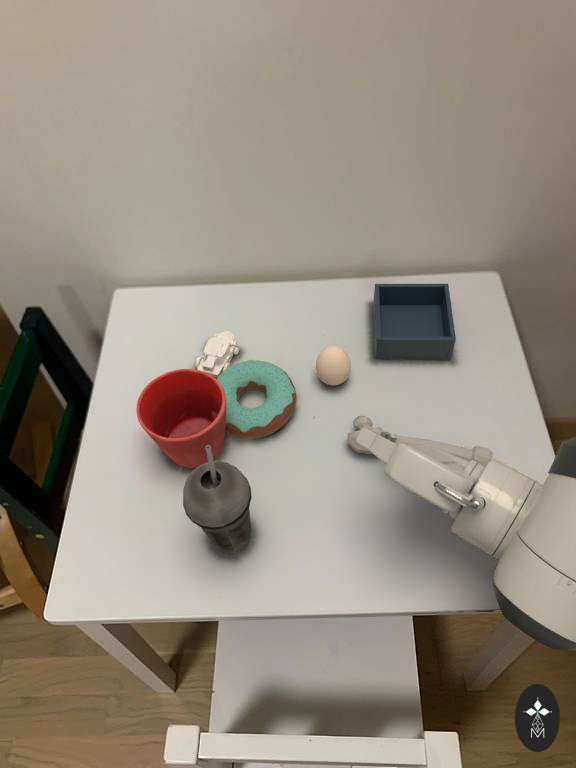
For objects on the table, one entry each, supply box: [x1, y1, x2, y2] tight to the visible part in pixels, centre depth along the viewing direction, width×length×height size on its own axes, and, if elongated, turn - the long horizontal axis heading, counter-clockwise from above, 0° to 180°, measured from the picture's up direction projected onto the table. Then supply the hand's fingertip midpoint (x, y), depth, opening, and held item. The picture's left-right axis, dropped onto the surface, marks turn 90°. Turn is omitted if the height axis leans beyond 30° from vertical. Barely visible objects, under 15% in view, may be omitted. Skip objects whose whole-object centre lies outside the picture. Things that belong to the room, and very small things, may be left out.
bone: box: [347, 415, 494, 467], centre depth 75 cm, size 18×5×4 cm, turn 71°
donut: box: [211, 359, 297, 439], centre depth 81 cm, size 12×12×4 cm
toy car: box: [195, 330, 240, 378], centre depth 86 cm, size 5×8×4 cm, turn 162°
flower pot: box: [136, 368, 226, 469], centre depth 76 cm, size 11×11×10 cm
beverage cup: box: [182, 445, 252, 555], centre depth 64 cm, size 7×7×20 cm
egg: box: [315, 344, 352, 386], centre depth 81 cm, size 5×5×7 cm
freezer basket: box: [372, 283, 457, 361], centre depth 86 cm, size 11×11×5 cm
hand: (370, 435), depth 66 cm, fingers open, 8 cm apart
